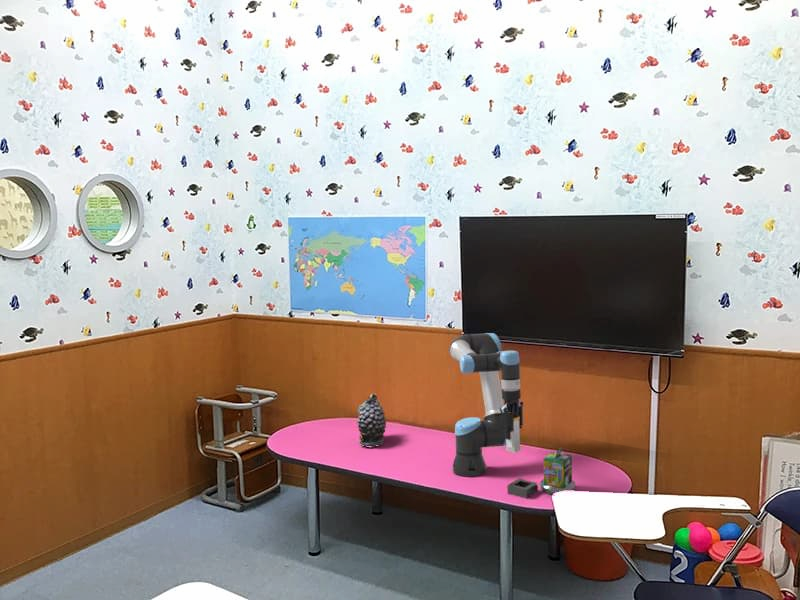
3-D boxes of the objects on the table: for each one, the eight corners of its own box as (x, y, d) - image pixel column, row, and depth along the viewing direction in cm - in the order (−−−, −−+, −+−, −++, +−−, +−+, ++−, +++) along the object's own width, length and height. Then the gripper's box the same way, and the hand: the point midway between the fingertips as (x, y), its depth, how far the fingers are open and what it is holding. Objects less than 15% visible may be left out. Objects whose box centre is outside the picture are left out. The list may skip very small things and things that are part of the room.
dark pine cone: (359, 437, 367) (357, 390, 364) (388, 436, 367) (385, 389, 364) (355, 450, 347) (353, 401, 344) (385, 449, 346) (383, 400, 343)
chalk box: (551, 477, 292) (551, 443, 291) (572, 481, 287) (572, 446, 285) (543, 484, 285) (542, 450, 283) (564, 489, 280) (563, 453, 278)
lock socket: (507, 493, 284) (507, 485, 284) (519, 486, 291) (518, 478, 290) (526, 498, 278) (526, 490, 278) (537, 491, 285) (537, 482, 285)
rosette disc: (534, 490, 286) (534, 484, 285) (550, 480, 296) (550, 474, 296) (565, 498, 276) (565, 492, 276) (581, 487, 287) (581, 481, 287)
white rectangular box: (505, 451, 284) (504, 417, 283) (511, 448, 287) (510, 415, 286) (514, 452, 281) (513, 418, 279) (520, 450, 284) (519, 416, 283)
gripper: (506, 394, 273) (508, 452, 275) (530, 386, 285) (532, 442, 287) (491, 392, 278) (493, 449, 280) (515, 384, 290) (517, 439, 292)
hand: (513, 445), depth 283 cm, fingers closed on white rectangular box, 4 cm apart
